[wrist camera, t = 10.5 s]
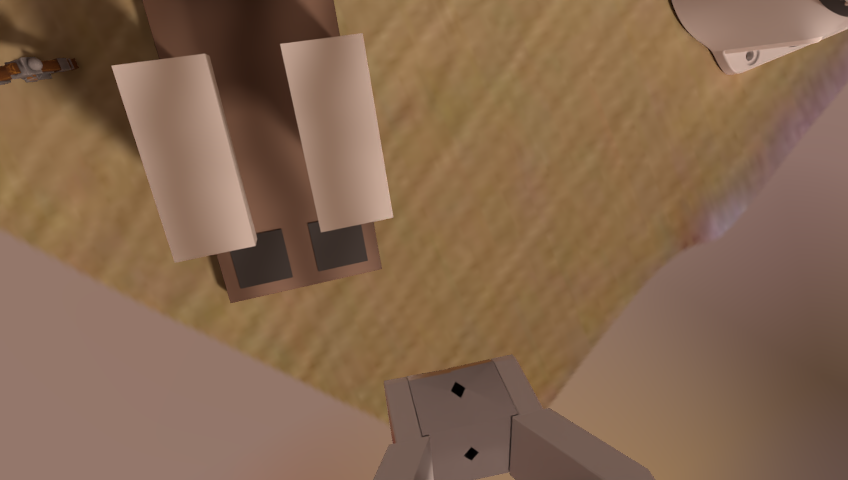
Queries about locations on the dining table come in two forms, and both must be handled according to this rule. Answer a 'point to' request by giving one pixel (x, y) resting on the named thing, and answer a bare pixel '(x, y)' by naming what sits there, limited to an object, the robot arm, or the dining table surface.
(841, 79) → the dining table surface
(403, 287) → the dining table surface
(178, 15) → the tunnel track
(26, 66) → the toy flintlock pistol
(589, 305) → the dining table surface
